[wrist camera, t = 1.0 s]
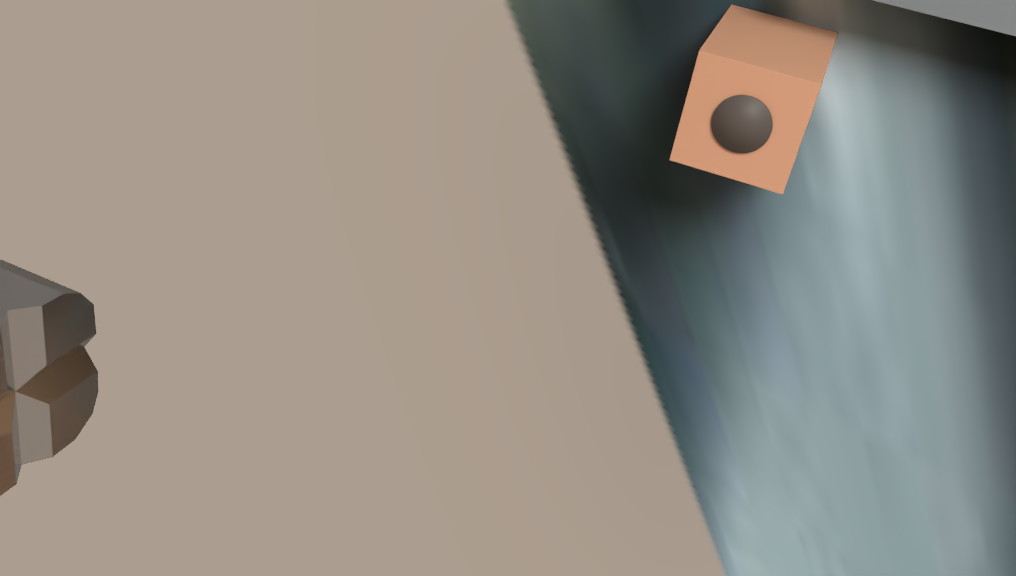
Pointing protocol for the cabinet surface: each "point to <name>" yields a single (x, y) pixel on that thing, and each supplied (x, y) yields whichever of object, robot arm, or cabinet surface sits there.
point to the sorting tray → (967, 12)
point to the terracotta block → (752, 97)
